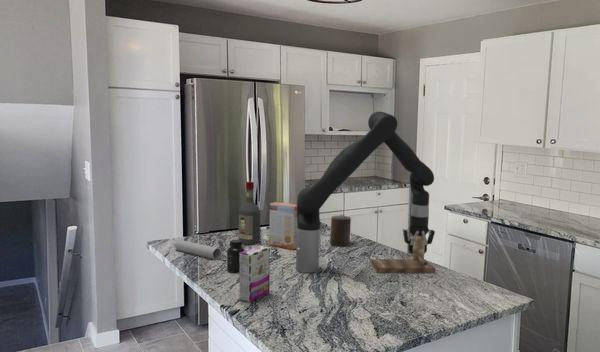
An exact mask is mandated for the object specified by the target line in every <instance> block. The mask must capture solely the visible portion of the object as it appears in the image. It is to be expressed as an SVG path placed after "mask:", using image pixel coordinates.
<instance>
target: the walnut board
mask: <svg viewBox="0 0 600 352" xmlns="http://www.w3.org/2000/svg"><path fill="white" fill-rule="evenodd" d="M424 261H427V265H424V264H423V263H422V262H421V261H420V260H419V259H405V258H404V259H403V258H402V259H400V258H399V259H395V258H394V259H393V258H391V259H390V258H389V259H387V258H384V259H383V258H382V259H381V258H380V259H378V258H377V259H376V258H374V259H373V258H371V259H370V265H371V266H372V268H373V269H374V270H375V271H376V273H377V274H413V273H414V274H436V267H435V266H434V265H432V264H431V262H429V261H428V260H426V259H424Z"/></svg>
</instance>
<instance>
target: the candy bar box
mask: <svg viewBox="0 0 600 352" xmlns="http://www.w3.org/2000/svg"><path fill="white" fill-rule="evenodd" d="M270 252H271V247H269V246H263V245H257V246H254V247H251V248H249V249H246V250H245V251H243V252H240V253H239V261H240V262H239V263H240V268H239V269H240V272H239V300H241V301H244V302H248V303H252V302H254V301H256V300H258V299H260V298H263V297H265V295H268V294H270V273H271V272H270V255H271V253H270Z"/></svg>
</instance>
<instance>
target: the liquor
mask: <svg viewBox="0 0 600 352" xmlns="http://www.w3.org/2000/svg"><path fill="white" fill-rule="evenodd" d="M245 183H246V184H245V188H246V191H245V192H246V193H245V194H246V195H245V202H243V204H242V205H241V206H240V207H239V210H238V240H242V245H245V246H253V245H257V244H260V241H261V235H260V234H261V209H260V207H259V205H257V204H256V203H255V200H254V186H255V185H254V183H255V182H254V181H245Z"/></svg>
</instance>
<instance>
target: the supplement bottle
mask: <svg viewBox="0 0 600 352" xmlns="http://www.w3.org/2000/svg"><path fill="white" fill-rule="evenodd" d="M226 251H227V253H226V254H227V255H226V269H227V272H228V273H229V272H230V273H233V274H234V273H235V274H236V273H238V274H240V269H239V268H240V263H239V262H240V261H239V253H240V252H243V251H246V250H245V248H244V247H243V244H242V240H239V239H231V240H230V241H229V247H228V248H227V250H226Z"/></svg>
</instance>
